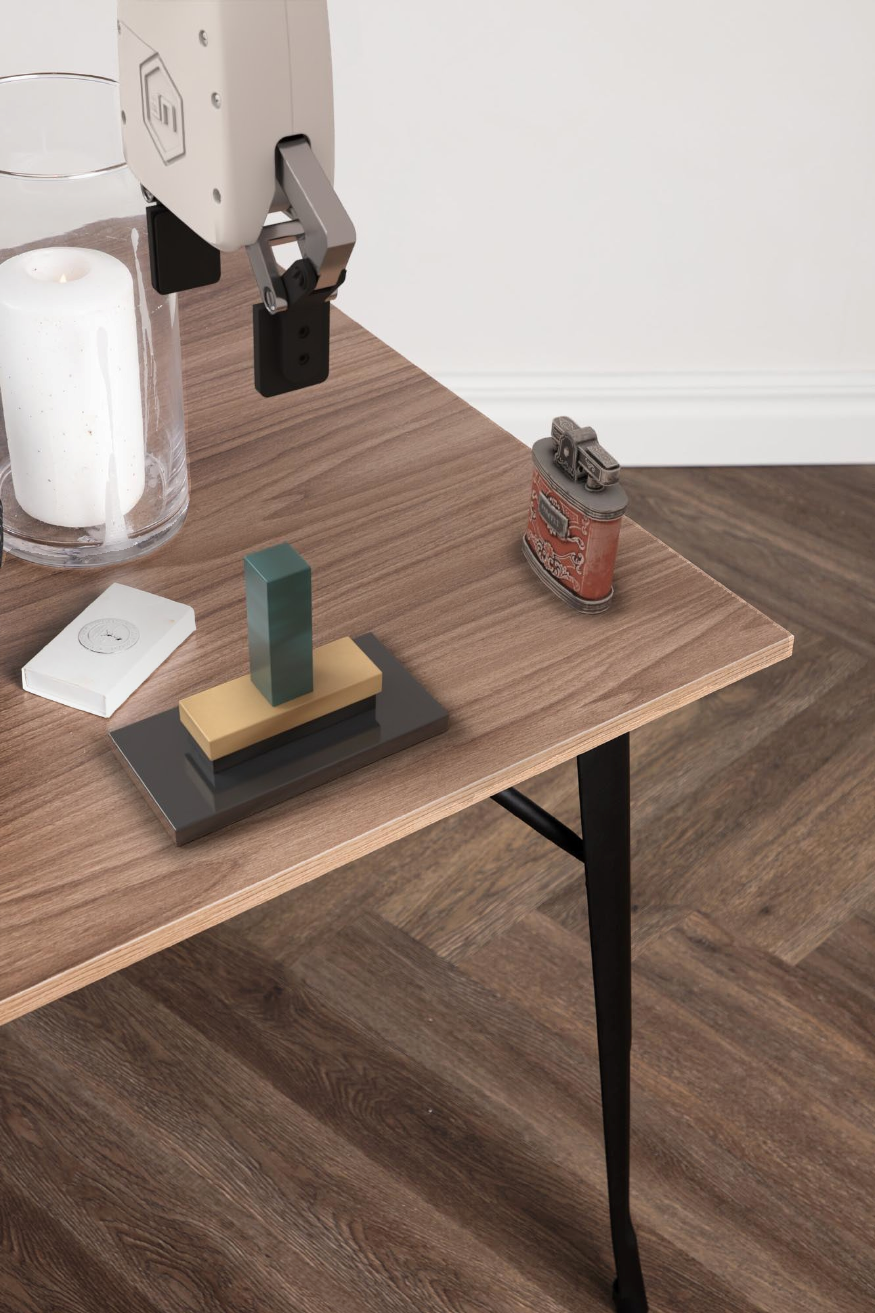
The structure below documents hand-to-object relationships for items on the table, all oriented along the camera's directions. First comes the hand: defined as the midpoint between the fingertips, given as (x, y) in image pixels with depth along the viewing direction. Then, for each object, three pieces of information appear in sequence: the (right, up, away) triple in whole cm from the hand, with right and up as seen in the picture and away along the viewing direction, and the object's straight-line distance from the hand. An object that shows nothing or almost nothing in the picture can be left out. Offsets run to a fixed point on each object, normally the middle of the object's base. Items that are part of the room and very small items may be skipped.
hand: (237, 334), depth 61 cm
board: (0, -18, +14) cm, 23 cm away
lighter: (+17, -9, +26) cm, 32 cm away
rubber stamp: (+1, -17, +13) cm, 22 cm away
